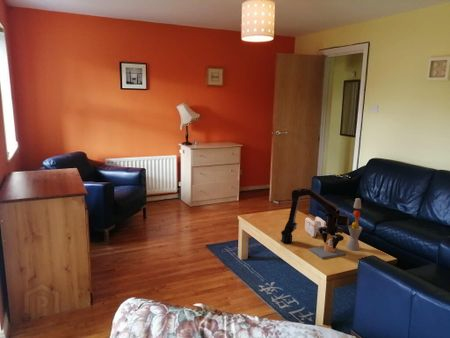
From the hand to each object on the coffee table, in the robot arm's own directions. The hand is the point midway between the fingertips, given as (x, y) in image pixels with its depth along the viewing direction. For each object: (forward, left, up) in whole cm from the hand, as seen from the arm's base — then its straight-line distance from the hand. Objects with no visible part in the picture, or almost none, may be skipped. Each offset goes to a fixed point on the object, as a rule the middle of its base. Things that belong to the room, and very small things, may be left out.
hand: (329, 245), depth 231 cm
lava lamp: (+20, 0, -5) cm, 21 cm away
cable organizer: (+10, +30, -5) cm, 32 cm away
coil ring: (0, 0, -3) cm, 3 cm away
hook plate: (-2, 0, -4) cm, 5 cm away
